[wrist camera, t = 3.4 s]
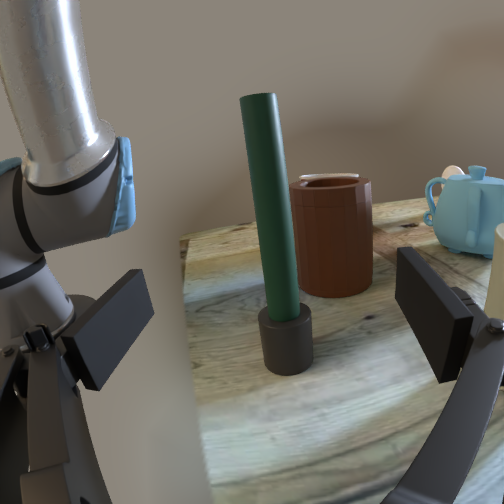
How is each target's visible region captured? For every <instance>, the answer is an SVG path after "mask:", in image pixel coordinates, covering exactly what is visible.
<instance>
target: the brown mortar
mask: <svg viewBox="0 0 504 504" xmlns="http://www.w3.org/2000/svg"><path fill="white" fill-rule="evenodd" d="M289 193H290V202H291V211H292V221H293V231H294V241H295V252H296V263H297V274H298V284H299V286H300V288H301V289H302V290H303V291H305V292H306V293H309V294H311V295H314V296H318V297H325V298H340V297H347V296H352V295H355V294H358V293H360V292H363V291H364V290H366V289H367V288H368V287H369V286H370V285H371V283H372V275H373V223H372V197H371V181H370V180H368V179H366V178H361V177H325V178H315V179H308V180H302V181H298V182H295V183H292V184H290V185H289Z"/></svg>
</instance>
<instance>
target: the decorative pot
mask: <svg viewBox="0 0 504 504" xmlns="http://www.w3.org/2000/svg"><path fill="white" fill-rule="evenodd" d="M468 169H469V172H470V175H462V174H456V175H451V176H450V177H449V178H448V179H447V180H446V179H444V178H441V177H437V178H434V179H432V180H431V181H429V182H428V183H427V185H426V188H425V194H426V199H427V202H428V205H429V208H430V211H426V212H425V213H424V216H423V220H424V223H425V224H426V225H428V226H433V229H434V232H435V235H436V237H437V238H438V240H439V242H440V243H441V244H442V245H444V246H446V247H449V248H448V251H450V252H452V253H461V252H462V251H464V252H469V253H476V254H483V256H484V257H486V258H489V259H493V251H494V240H495V233H494V231H495V228H496V227H497V226H498V225H499V224H501V223H504V180H502V179H499V178H494V177H487V176H484V175H485V172H486V168H485V167H480V166H469V167H468ZM436 183H441V184H445V185H444V187H443V190H442V192H441V194H440V197H439V200H438V203H437V206H436V207H435V204H434V201H433V198H432V194H431V188H432V186H433V185H434V184H436ZM428 215H432V221H431V220H429V218H428Z"/></svg>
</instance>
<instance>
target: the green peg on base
mask: <svg viewBox="0 0 504 504" xmlns="http://www.w3.org/2000/svg"><path fill="white" fill-rule="evenodd" d="M240 106H241V113H242V120H243V127H244V134H245V141H246V149H247V155H248V163H249V170H250V178H251V185H252V192H253V200H254V207H255V214H256V222H257V230H258V237H259V245H260V252H261V260H262V267H263V275H264V283H265V291H266V298H267V306H266V307H265V308H263V309H262V310H261V311H260V313H259V315H258V321H259V328H260V335H261V342H262V348H263V355H264V362H265V366H266V367H267V369H268V370H269V371H271V372H272V373H275V374H278V375H284V376H289V375H295V374H299V373H301V372H303V371H305V370H306V369H308V368H309V367H310V365H311V364H312V362H313V341H312V320H311V310H310V308H309V307H308V306H307V305H305V304H303V303H300V302H299V291H298V279H297V267H296V256H295V245H294V235H293V225H292V215H291V206H290V196H289V187H288V179H287V171H286V162H285V154H284V146H283V138H282V130H281V123H280V116H279V109H278V102H277V95H276V94H275V93H259V94H252V95H247V96H244V97H242V98H240Z"/></svg>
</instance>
